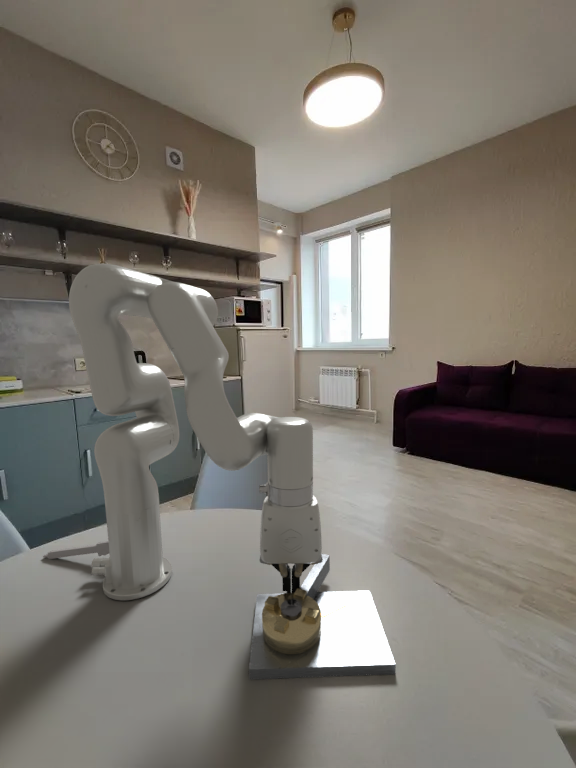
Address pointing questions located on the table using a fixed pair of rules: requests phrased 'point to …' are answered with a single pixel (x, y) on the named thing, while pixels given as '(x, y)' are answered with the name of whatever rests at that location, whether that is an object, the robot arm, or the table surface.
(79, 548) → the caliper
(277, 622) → the gold disc with handle
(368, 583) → the table surface
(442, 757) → the table surface
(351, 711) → the table surface
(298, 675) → the base plate
